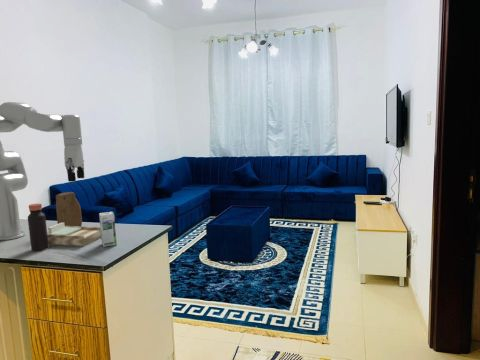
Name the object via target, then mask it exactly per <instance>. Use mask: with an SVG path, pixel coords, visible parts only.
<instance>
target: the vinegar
mask: <svg viewBox="0 0 480 360" xmlns="http://www.w3.org/2000/svg"><path fill="white" fill-rule="evenodd" d="M28 210H29V214H28V216H27V223H28V224H27V225H28V234H29V242H30V249H31V251H33V252H39V251H45V250H47V249H49V246H50V245H48V236H47V233H48V228H47V219H46V214H45V213H44V212H42V210H43V206H42V203H31V204H29V205H28Z"/></svg>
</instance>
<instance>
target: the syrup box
mask: <svg viewBox="0 0 480 360" xmlns="http://www.w3.org/2000/svg"><path fill="white" fill-rule="evenodd" d="M98 217H99V227H100V229H101V238H100V239H101V244H102V246H103V247H104V248H105V247H110V246H116V245H117V243H118V242H117V233H116V232H117V231H116V222H115V219H116V218H115V213H114V212H113V211H109V212H108V211H107V212H100V213H98Z"/></svg>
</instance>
